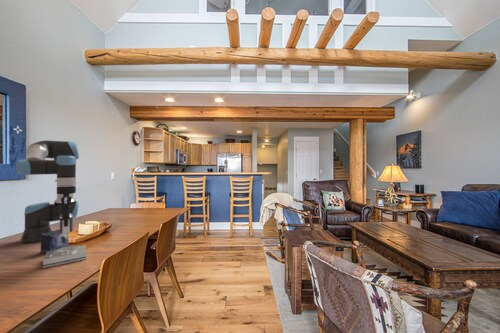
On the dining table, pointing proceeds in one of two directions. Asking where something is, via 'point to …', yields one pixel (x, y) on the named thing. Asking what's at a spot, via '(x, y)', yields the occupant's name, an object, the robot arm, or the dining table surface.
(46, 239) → the small box
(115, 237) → the dining table surface
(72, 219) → the lens
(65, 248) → the grey piece
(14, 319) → the dining table surface
